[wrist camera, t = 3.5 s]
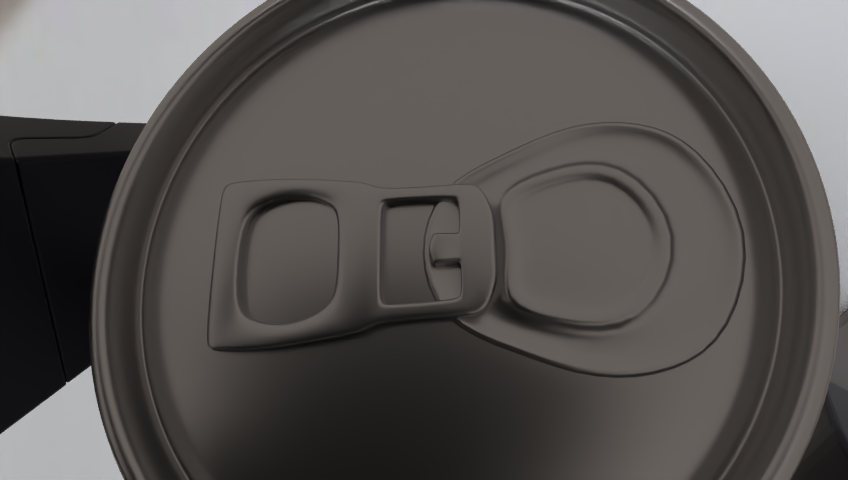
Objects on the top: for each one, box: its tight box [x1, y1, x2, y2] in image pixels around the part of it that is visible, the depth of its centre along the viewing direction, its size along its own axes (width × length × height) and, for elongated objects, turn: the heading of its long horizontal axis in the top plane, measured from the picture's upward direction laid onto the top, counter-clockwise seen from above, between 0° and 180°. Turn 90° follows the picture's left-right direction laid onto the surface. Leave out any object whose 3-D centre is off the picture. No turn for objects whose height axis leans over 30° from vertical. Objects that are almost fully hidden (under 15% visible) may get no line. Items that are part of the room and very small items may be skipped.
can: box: [89, 0, 840, 480], centre depth 10 cm, size 6×6×12 cm
